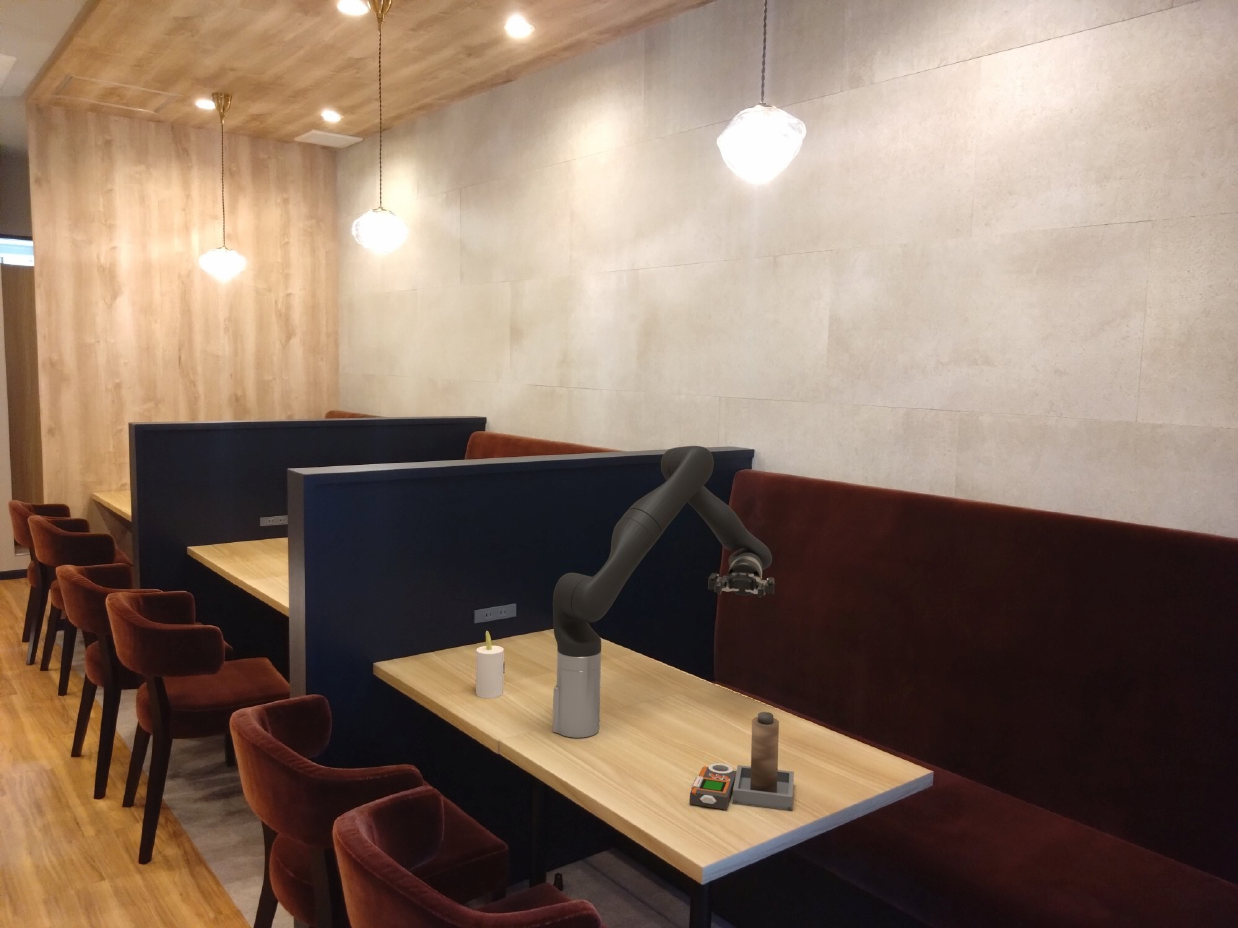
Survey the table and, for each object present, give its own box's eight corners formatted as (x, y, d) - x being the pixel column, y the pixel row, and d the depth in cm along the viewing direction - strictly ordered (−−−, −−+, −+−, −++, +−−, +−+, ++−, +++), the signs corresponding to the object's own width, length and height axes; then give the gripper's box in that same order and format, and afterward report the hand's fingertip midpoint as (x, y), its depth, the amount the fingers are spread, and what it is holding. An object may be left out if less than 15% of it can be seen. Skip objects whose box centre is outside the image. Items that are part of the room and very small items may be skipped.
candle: (504, 697, 209) (505, 634, 207) (476, 698, 208) (476, 634, 206) (503, 688, 215) (504, 626, 213) (475, 688, 214) (476, 627, 212)
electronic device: (739, 764, 172) (726, 796, 157) (738, 779, 172) (726, 812, 158) (703, 759, 174) (688, 790, 159) (703, 774, 174) (688, 806, 159)
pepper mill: (749, 794, 163) (750, 718, 161) (751, 782, 168) (753, 708, 166) (775, 797, 162) (778, 721, 160) (777, 785, 166) (780, 711, 165)
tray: (732, 803, 161) (733, 789, 160) (737, 777, 171) (737, 764, 171) (792, 810, 159) (792, 796, 158) (793, 784, 169) (793, 771, 168)
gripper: (714, 556, 208) (706, 571, 192) (777, 560, 205) (774, 576, 189) (713, 588, 209) (704, 605, 193) (775, 593, 206) (772, 611, 190)
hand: (739, 591), depth 191 cm, fingers open, 8 cm apart
